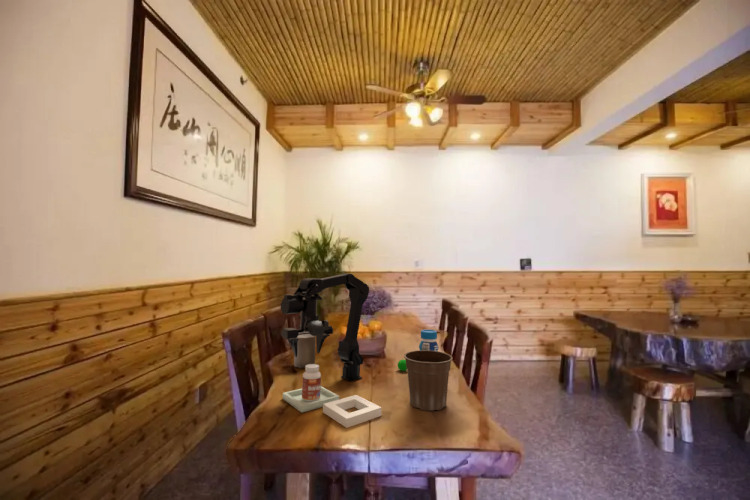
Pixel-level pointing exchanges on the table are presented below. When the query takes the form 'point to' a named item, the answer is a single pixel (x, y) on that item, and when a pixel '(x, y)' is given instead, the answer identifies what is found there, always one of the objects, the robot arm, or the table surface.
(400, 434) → the table surface
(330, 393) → the parts tray
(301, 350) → the pillar candle
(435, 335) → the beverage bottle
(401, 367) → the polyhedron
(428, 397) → the plant pot
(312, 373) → the pill bottle
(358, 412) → the socket block
